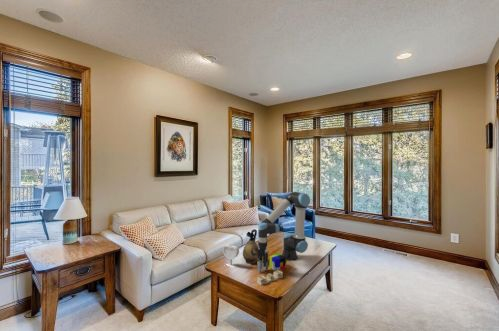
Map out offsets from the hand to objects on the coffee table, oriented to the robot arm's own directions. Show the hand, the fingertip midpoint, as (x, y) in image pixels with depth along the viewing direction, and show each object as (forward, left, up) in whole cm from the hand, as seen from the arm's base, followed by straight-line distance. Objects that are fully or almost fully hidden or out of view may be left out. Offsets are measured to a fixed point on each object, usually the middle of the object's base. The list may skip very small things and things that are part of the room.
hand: (262, 269), depth 201 cm
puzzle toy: (-15, +2, -2) cm, 15 cm away
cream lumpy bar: (+4, +15, -2) cm, 16 cm away
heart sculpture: (+17, -25, -2) cm, 30 cm away
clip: (0, 0, -2) cm, 2 cm away
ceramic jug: (-4, -22, -2) cm, 22 cm away
